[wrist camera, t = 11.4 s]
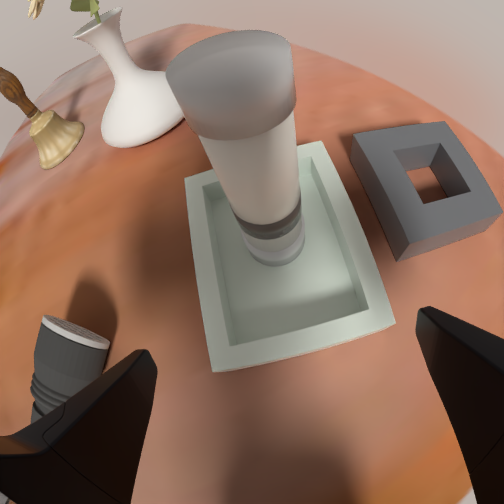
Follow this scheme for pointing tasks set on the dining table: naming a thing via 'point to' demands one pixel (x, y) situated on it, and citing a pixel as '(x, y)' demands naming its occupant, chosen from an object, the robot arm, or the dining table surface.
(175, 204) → the dining table surface
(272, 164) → the frosted bulb
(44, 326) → the flashlight
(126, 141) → the flower in vase
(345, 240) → the parts tray
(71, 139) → the hand bell
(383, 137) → the socket block
